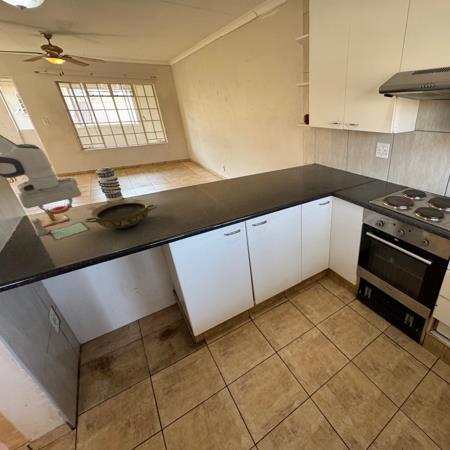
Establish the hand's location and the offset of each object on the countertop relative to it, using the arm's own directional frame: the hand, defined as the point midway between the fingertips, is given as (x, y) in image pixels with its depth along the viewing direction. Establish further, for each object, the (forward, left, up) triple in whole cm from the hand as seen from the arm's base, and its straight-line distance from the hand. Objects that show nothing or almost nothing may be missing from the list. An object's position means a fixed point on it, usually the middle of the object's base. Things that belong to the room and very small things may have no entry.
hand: (59, 210), depth 116 cm
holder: (-2, +20, -11) cm, 23 cm away
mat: (0, 0, -11) cm, 11 cm away
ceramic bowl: (+20, -16, -12) cm, 28 cm away
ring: (0, 0, 0) cm, 0 cm away
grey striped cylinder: (+25, +9, -12) cm, 29 cm away
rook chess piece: (-9, +7, -12) cm, 16 cm away
